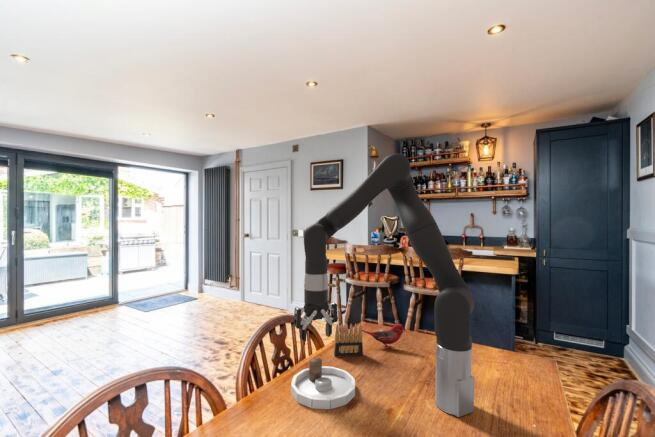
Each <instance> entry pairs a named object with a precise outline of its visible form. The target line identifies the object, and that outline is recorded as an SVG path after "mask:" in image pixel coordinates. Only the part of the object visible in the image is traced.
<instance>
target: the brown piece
mask: <svg viewBox="0 0 655 437" xmlns="http://www.w3.org/2000/svg"><path fill="white" fill-rule="evenodd" d="M308 360H309V362H308V365H309V366H308V368H309V380H310V381H311V382H315V380H316V379H318V378H321V377H322V366H323V360H322V358H321V357H311V358H309V359H308Z"/></svg>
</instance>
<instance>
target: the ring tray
mask: <svg viewBox="0 0 655 437" xmlns="http://www.w3.org/2000/svg"><path fill="white" fill-rule="evenodd" d="M290 394H291V396H292V397H293V398H294V400H295V401H296V402H297V403H298V404H300V405H303V406H305V407H307V408H309V409H312V410H313V409H319V410H333V409H336V408H339V407H343V406H346V405H347V404H349V402H351V400H353V398H354V397H356V380H355V377H353V375H351V374H350V373H349V372H348V371H347V370H345V369H342V368H337V367H336V366H327V365H325V366H324V365H322V377H321V378H318V379H316V380H315V382H311V381H310V380H309V367H307V368H304V369H301V370H300V371H299V372H298V373H296V374H294V375H293V376H292V380H291V382H290Z"/></svg>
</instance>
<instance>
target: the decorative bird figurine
mask: <svg viewBox="0 0 655 437" xmlns="http://www.w3.org/2000/svg"><path fill="white" fill-rule="evenodd" d="M404 331H407V329H406V328H405V327H404V325H403V324H402V323H396V324H394V325H392V326H391V327H389V328H385V329H380V330H377V331H374V332H372V331H368V330H364V329H362V333H365V334H368V335H369V336H371V337H372V338H373V339H375V341H377V342H380V343H382V344H383V345H382V346H381V347H383V348H387V349H393V348H396V347H395V346H391V344H392V345H393V344H394V343H396V342H398V341H399V340H400V338H401V336H402V335H403V333H404Z"/></svg>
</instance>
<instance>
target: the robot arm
mask: <svg viewBox="0 0 655 437" xmlns="http://www.w3.org/2000/svg"><path fill="white" fill-rule="evenodd" d="M411 168H412V167H411V163H410V160H409V159H408V157H407V156H406V155H404V154H401V153H391V154H389V155H387V156H386V157H385V158H384V159H383V160H382V161H381V162H380V163H379V164H378V165H377V166H376V168H375V169H374V170H373V171H372V172H371V173H370V174H369V175H368V176H367V177H366V178H365V179H364V180H363V181H362V182H361V183H359V185H358V186H357V187H355V189H353V190H352V191H351V192H350V193H348V194H347V195H346V196H344V198H342V200H340V201H339V202H337V203H336V204H335V205H334V206H332V207H331V208H330V209H329V210H328V211H327V212H326V213H325V215H323V216H322V217H320V218H319V220H317V221H316V222H314V223H312V224H311V225H308V226H307V227H306V229H305V230H304V232H303V246H304V253H305V254H304V256H305V259H304V260H305V261H304V264H305V265H304V266H305V267H304V273H305V274H304V282H303V284H304V285H303V287H304V288H303V289H304V291H303V292H304V293H303V294H304V296H303V299H304V300H303V301H304V305H303V307H298V306H295V307H294V312H293V313H294V315H293V326H294V327H295V328H296V329H299V338H300V340H301V341H302V342H303V343H304V342H307V327H308V325H309V324H311V322H313V321H317V320H322V319H323V320H324V322H325V335H326V337H327V338H331V337H332V336H331V335H333V334H332V333H333V324H334V323H337V322H339V321H338V320H339V318H338V304H337V303H336V302H333V301H332V302H330V303H328V302H329V276H328V258H327V241H329V239H331V238H332V237H334V235H335V234H336V233H338V231H339V230H341V229H343V228H344V227H346V226H347V225H348V224H349V223H351V222H352V221H353V220H355V219H356V218H357V217H358V216H359V215H360V214H361V213H362V212H363V211H364V210H365V209H367V207H368V206H369V204H371V202H373V201H374V199H375V198H377V197H378V196H379V195H380V194H381V193H383V192H384V191H386V190H387V191H388V192H389V194H390V195H391V198H392V199H393V201H394V203H395V205H396V208H397V211H398V214H399V218H400V220H401V224H402V226H403V228H404V232H405V234H406V236H407V239H408V241H409V243H410V245H411V247H412V249H413V251H414V253H415V254H416V255H417V257H418V258H419V260H420V261H421V262H422V263H423V264H424V266H425V267H426V268H427V269H428V271H429V272H430V275H432V277H433V280H434V282H435V284H436V286H437V289H438V295H437V296H436V297H435V299H434V300H435V301H434V310H433V311H434V315H433V316H434V318H433V319H434V320H433V321H434V333H435V334H434V335H435V337H436V344H435V346H436V348H435V350H436V351H435V390H434V392H435V395H434V396H435V397H434V399H435V400H434V401H435V405H436V406H437V408H438V409H439V410H440V411H443V412H445V413H446V414H449V415H451V416H452V415H453V416H455V417H457V418H461V417H463V416H465V415H468V414H470V413H471V414H472V413H474V411H475V410H474V409H475V408H474V407H475V406H474V405H475V377H474V376H473V375H472V354H473V352H472V350H473V349H472V348H473V338H472V336H471V314H472V313H473V311H474V309H475V299H474V295H473V293H472V292H471V290H470V289H469V287H468V285H467V284H466V281H464V279H463V277H462V276H461V274H460V272H459V271H458V268H457V267H456V264H455V263H454V259H453V258H452V255H451V252H450V250H449V248H448V245H447V244H446V241H445V239H444V236H443V234H442V232H441V230H440V227H439V226H438V224H437V222H436V220H435V218H434V216H433V215H432V213H431V212H430V210H429V208H428V207H427V206H426V205H425V204H424V202H423V201H422V200H421V198H420V196H419V194H418V192H417V189H416V187H415V185H414V182H413V179H412V175H411V170H412V169H411ZM328 310H330V316H329V315H328V313H327V312H328ZM303 313H304V315H303ZM302 315H303V317H302Z"/></svg>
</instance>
